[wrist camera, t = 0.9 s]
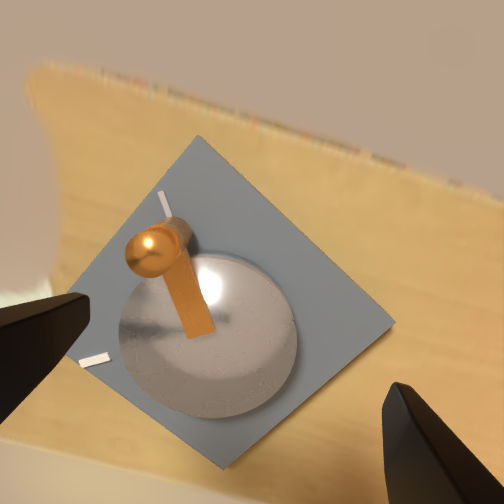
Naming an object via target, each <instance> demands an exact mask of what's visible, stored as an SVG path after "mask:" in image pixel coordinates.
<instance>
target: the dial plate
mask: <svg viewBox="0 0 504 504" xmlns="http://www.w3.org/2000/svg"><path fill="white" fill-rule="evenodd" d="M171 216H174V217H179V218H181V219H183V220H184V221H186V222H187V223H188V225H189V226H190V228H191V231H192V239H191V242H190V244H189V246H188V247H187V250H188V252H193V251H201V250H217V251H224V252H229V253H233V254H236V255H240V256H242V257H244V258H246V259H249V260H251V261H252V262H254V263H256V264H257V265H259V266H261V267H262V268H263V269H264V270H266V271H267V272H268V273H269V274H270V275H271V276H272V277H273V278H274V279H275V280H276V281H277V282H278V284H279V285H280V286H281V288H282V289H283V291H284V293H285V295H286V297H287V298H288V301H289V304H290V306H291V310H292V314H293V319H294V323H295V327H296V333H297V351H296V356H295V361H294V364H293V367H292V369H291V372H290V374H289V376H288V377H287V379H286V381H285V382H284V384H283V385H282V386H281V388H280V389H279V390H278V391H277V392H276V393H275V394H274V395H273V396H272V397H271V398H269V399H268V400H267V401H265V402H264V403H263V404H261V405H259V406H258V407H256V408H254V409H252V410H249V411H247V412H244V413H241V414H238V415H234V416H229V417H222V418H201V417H195V416H190V415H186V414H182V413H179V412H176V411H174V410H171V409H169V408H167V407H165V406H163V405H161V404H160V403H158V402H157V401H155V400H154V399H152V398H151V397H150V396H149V395H148V394H146V393H145V392H144V391H143V390H142V389H141V388H140V387H139V386H138V384H137V383H136V382H135V381H134V379H133V378H132V376H131V375H130V373H129V371H128V370H127V368H126V366H125V363H124V361H123V358H122V355H121V351H120V347H119V336H118V335H119V323H120V318H121V314H122V311H123V309H124V306H125V304H126V302H127V300H128V298H129V297H130V295H131V294H132V292H133V291H134V290H135V288H136V287H137V286H138V285H139V284H140V283H141V282H142V281H143V280H144V279H145V278H144V277H141V276H139V275H137V274H136V273H134V272H133V271H132V270H131V269H130V268H129V266H128V265H127V263H126V260H125V247H126V245H127V243H128V241H129V240H130V239H131V238H132V237H134V236H135V235H137V234H139V233H140V232H142V231H144V230H146V229H147V228H149V227H151V226H152V225H154V224H156V223H158V222H159V221H161V220H163V219H164V218H167V217H171ZM72 292H79V293H82V294H86V295H88V296H89V298H90V322H89V324H88V326H87V327H86V329H85V330H84V331H83V333H82V334H81V335H80V336H79V338H78V339H77V340H76V341H75V343H74V344H73V345H72V346H71V348H70V349H69V350H68V352H67V353H66V354H65V355H67V356H68V357H69V358H71V359H72V360H74V361H75V362H76V363H78V364H79V365H80V366H81V368H84V369H86V370H87V371H89V372H90V373H91V374H93V375H94V376H95V377H97V378H98V379H99V380H101V381H102V382H104V383H105V384H106V385H108V386H109V387H110V388H112V389H113V390H114V391H116V392H117V393H119V394H120V395H121V396H123V397H124V398H125V399H127V400H128V401H130V402H131V403H132V404H134V405H135V406H136V407H138V408H139V409H140V410H142V411H143V412H145V413H146V414H147V415H149V416H150V417H151V418H153V419H154V420H155V421H157V422H158V423H160V424H161V425H162V426H164V427H165V428H166V429H168V430H169V431H170V432H172V433H173V434H175V435H176V436H177V437H179V438H180V439H181V440H183V441H184V442H186V443H187V444H188V445H190V446H191V447H192V448H194V449H195V450H196V451H198V452H199V453H201V454H202V455H203V456H205V457H206V458H207V459H209V460H210V461H211V462H213V463H214V464H216V465H217V466H218V467H220V468H221V469H222V470H224V469H226V468H227V467H228V466H229V465H230V464H231V463H233V462H234V461H235V460H236V459H237V458H238V457H240V456H241V455H242V454H243V453H244V452H245V451H247V450H248V449H249V448H250V447H251V446H252V445H254V444H255V443H256V442H257V441H258V440H259V439H261V438H262V437H263V436H264V435H265V434H266V433H268V432H269V431H270V430H271V429H272V428H273V427H275V426H276V425H277V424H278V423H279V422H280V421H282V420H283V419H284V418H285V417H286V416H287V415H289V414H290V413H291V412H292V411H293V410H294V409H296V408H297V407H298V406H299V405H300V404H301V403H303V402H304V401H305V400H306V399H307V398H308V397H310V396H311V395H312V394H313V393H314V392H315V391H317V390H318V389H319V388H320V387H321V386H322V385H324V384H325V383H326V382H327V381H328V380H329V379H331V378H332V377H333V376H334V375H335V374H336V373H338V372H339V371H340V370H341V369H342V368H343V367H345V366H346V365H347V364H348V363H349V362H350V361H352V360H353V359H354V358H355V357H356V356H357V355H359V354H360V353H361V352H362V351H363V350H364V349H366V348H367V347H368V346H369V345H370V344H371V343H373V342H374V341H375V340H376V339H377V338H378V337H380V336H381V335H382V334H383V333H384V332H385V331H387V330H388V329H389V328H390V327H391V326H392V325H394V324H395V323H396V322H395V321H394V320H393V319H392V318H391V316H390V315H389V314H388V313H387V312H386V311H385V310H384V309H383V308H382V307H381V306H380V305H378V304H377V303H376V302H375V301H374V300H373V299H372V298H371V297H370V296H369V295H368V294H367V293H366V292H365V291H364V290H363V289H362V288H360V287H359V286H358V285H357V284H356V283H355V282H354V281H353V280H352V279H351V278H350V277H349V276H348V275H347V274H346V273H345V272H344V271H342V270H341V269H340V268H339V267H338V266H337V265H336V264H335V263H334V262H333V261H332V260H331V259H330V258H329V257H328V256H327V255H326V254H325V253H323V252H322V251H321V250H320V249H319V248H318V247H317V246H316V245H315V244H314V243H313V242H312V241H311V240H310V239H309V238H308V237H307V236H305V235H304V234H303V233H302V232H301V231H300V230H299V229H298V228H297V227H296V226H295V225H294V224H293V223H292V222H291V221H290V220H289V219H287V218H286V217H285V216H284V215H283V214H282V213H281V212H280V211H279V210H278V209H277V208H276V207H275V206H274V205H273V204H272V203H271V202H269V201H268V200H267V199H266V198H265V197H264V196H263V195H262V194H261V193H260V192H259V191H258V190H257V189H256V188H255V187H254V186H253V185H251V184H250V183H249V182H248V181H247V180H246V179H245V178H244V177H243V176H242V175H241V174H240V173H239V172H238V171H237V170H236V169H235V168H234V167H232V166H231V165H230V164H229V163H228V162H227V161H226V160H225V159H224V158H223V157H222V156H221V155H220V154H219V153H218V152H217V151H216V150H214V149H213V148H212V147H211V146H210V145H209V144H208V143H207V142H206V141H205V140H204V139H203V138H202V137H200V136H198V135H197V136H196V137H195V138H194V140H193V141H192V142H191V143H190V145H189V146H188V147H187V148H186V149H185V151H184V152H183V153H182V154H181V155H180V157H179V158H178V159H177V160H176V161H175V163H174V164H173V165H172V166H171V167H170V169H169V170H168V171H167V172H166V174H165V175H164V176H163V177H162V178H161V180H160V181H159V182H158V183H157V184H156V186H155V187H154V188H153V189H152V190H151V192H150V193H149V194H148V195H147V196H146V198H145V199H144V200H143V201H142V203H141V204H140V205H139V206H138V207H137V209H136V210H135V211H134V212H133V213H132V215H131V216H130V217H129V218H128V219H127V221H126V222H125V223H124V224H123V225H122V227H121V228H120V229H119V230H118V232H117V233H116V234H115V235H114V236H113V238H112V239H111V240H110V241H109V242H108V244H107V245H106V246H105V247H104V248H103V250H102V251H101V252H100V253H99V254H98V256H97V257H96V258H95V259H94V261H93V262H92V263H91V264H90V265H89V267H88V268H87V269H86V270H85V271H84V273H83V274H82V275H81V276H80V277H79V279H78V280H77V281H76V282H75V283H74V285H73V286H72V287H71V288H70V290H69V291H68V292H67V293H66V294H68V293H72Z"/></svg>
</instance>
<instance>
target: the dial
mask: <svg viewBox="0 0 504 504" xmlns="http://www.w3.org/2000/svg"><path fill="white" fill-rule="evenodd" d="M191 239H192V231H191V228H190V226H189V225H188V223H187V222H186V221H184V220H183V219H181V218H179V217H174V216H171V217H167V218H164V219H163V220H161V221H159V222H158V223H156V224H154V225H152V226H151V227H149V228H147V229H146V230H144V231H142V232H140V233H139V234H137V235H135V236H134V237H132V238H131V239H130V240H129V241H128V243H127V245H126V247H125V260H126V263H127V265H128V266H129V268H130V269H131V270H132V271H133V272H134V273H136V274H137V275H139V276H141V277H144V278H145V279H144V280H143V281H142V282H141V283H140V284H139V285H138V286H137V287H136V288H135V290H134V291H133V292H132V294H131V295H130V297H129V298H128V300H127V302H126V304H125V306H124V309H123V311H122V314H121V318H120V323H119V335H118V336H119V347H120V351H121V355H122V358H123V361H124V363H125V366H126V368H127V370H128V371H129V373H130V375H131V376H132V378H133V379H134V381H135V382H136V383H137V384H138V386H139V387H140V388H141V389H142V390H143V391H144V392H145V393H146V394H148V395H149V396H150V397H151V398H152V399H154V400H155V401H157V402H158V403H160V404H161V405H163V406H165V407H167V408H169V409H171V410H174V411H176V412H179V413H182V414H186V415H190V416H195V417H201V418H222V417H229V416H234V415H238V414H241V413H244V412H247V411H249V410H252V409H254V408H256V407H258V406H259V405H261V404H263V403H264V402H265V401H267V400H268V399H269V398H271V397H272V396H273V395H274V394H275V393H276V392H277V391H278V390H279V389H280V388H281V386H282V385H283V384H284V382H285V381H286V379H287V377H288V376H289V374H290V372H291V369H292V367H293V364H294V361H295V356H296V351H297V333H296V327H295V323H294V319H293V314H292V310H291V306H290V304H289V301H288V298H287V297H286V295H285V293H284V291H283V289H282V288H281V286H280V285H279V284H278V282H277V281H276V280H275V279H274V278H273V277H272V276H271V275H270V274H269V273H268V272H267V271H266V270H264V269H263V268H262V267H261V266H259V265H257V264H256V263H254V262H252V261H251V260H249V259H246V258H244V257H242V256H240V255H236V254H233V253H229V252H224V251H217V250H201V251H193V252H188V250H187V247H188V246H189V244H190V242H191Z"/></svg>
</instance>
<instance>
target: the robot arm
mask: <svg viewBox="0 0 504 504" xmlns="http://www.w3.org/2000/svg"><path fill="white" fill-rule="evenodd" d="M89 322H90V298H89V296H88V295H86V294H82V293H79V292H72V293H68V294H63V295H59V296H54V297H50V298H45V299H40V300H36V301H31V302H27V303H22V304H18V305H13V306H9V307H4V308H0V424H1V423H2V422H3V421H4V420H5V419H6V418H7V417H8V416H9V415H10V414H11V413H12V412H13V411H14V410H15V409H16V408H17V407H18V406H19V404H20V403H21V402H22V401H23V400H24V399H25V398H26V397H27V396H28V395H29V394H30V393H31V392H32V391H33V390H34V389H35V388H36V387H37V386H38V385H39V384H40V382H41V381H42V380H43V379H44V378H45V377H46V376H47V375H48V374H49V373H50V372H51V371H52V370H53V369H54V368H55V366H56V365H57V364H58V363H59V362H60V360H61V359H62V358H63V357H64V355H65V354H66V353H67V352H68V350H69V349H70V348H71V346H72V345H73V344H74V343H75V341H76V340H77V339H78V338H79V336H80V335H81V334H82V333H83V331H84V330H85V329H86V327H87V326H88V324H89ZM382 430H383V454H384V471H385V479H386V486H387V493H388V500H389V504H504V487H503V486H502V485H501V484H500V482H499V481H498V480H497V479H496V478H495V477H494V476H493V475H492V474H491V473H490V472H489V470H488V469H487V468H486V467H485V466H484V465H483V464H482V463H481V462H480V461H479V460H478V459H477V457H476V456H475V455H474V454H473V453H472V452H471V451H470V450H469V449H468V448H467V447H466V446H465V444H464V443H463V442H462V441H461V440H460V439H459V438H458V437H457V436H456V435H455V434H454V433H453V431H452V430H451V429H450V428H449V427H448V426H447V425H446V424H445V423H444V422H443V421H442V419H441V418H440V417H439V416H438V415H437V414H436V413H435V412H434V411H433V410H432V409H431V408H430V406H429V405H428V404H427V403H426V402H425V401H424V400H423V399H422V398H421V397H420V396H419V395H418V393H417V392H416V391H415V390H414V389H413V388H412V387H411V386H409V385H406V384H402V383H399V382H394V383H393V384H392V385H391V387H390V390H389V392H388V394H387V396H386V399H385V401H384V403H383V407H382Z"/></svg>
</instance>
